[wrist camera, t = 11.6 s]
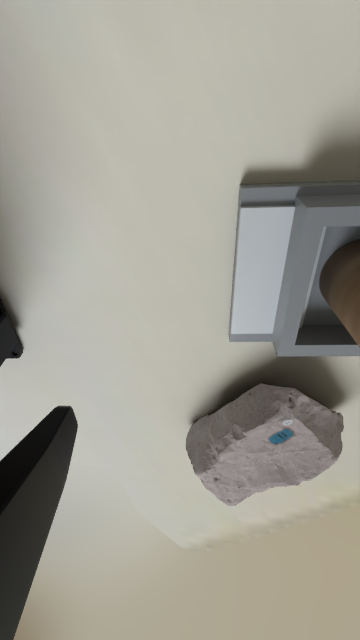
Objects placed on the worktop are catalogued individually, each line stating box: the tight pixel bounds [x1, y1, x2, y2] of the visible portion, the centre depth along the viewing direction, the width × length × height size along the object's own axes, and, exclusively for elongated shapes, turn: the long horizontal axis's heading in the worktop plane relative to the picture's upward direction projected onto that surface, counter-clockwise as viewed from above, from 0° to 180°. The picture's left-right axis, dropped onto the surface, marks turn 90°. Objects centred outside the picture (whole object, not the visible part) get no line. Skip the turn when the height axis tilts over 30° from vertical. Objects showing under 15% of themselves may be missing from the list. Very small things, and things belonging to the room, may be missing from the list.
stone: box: [186, 384, 344, 506], centre depth 28 cm, size 13×10×6 cm
